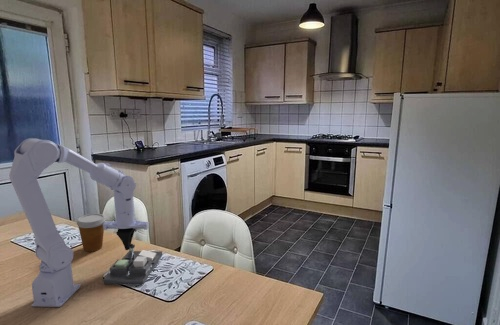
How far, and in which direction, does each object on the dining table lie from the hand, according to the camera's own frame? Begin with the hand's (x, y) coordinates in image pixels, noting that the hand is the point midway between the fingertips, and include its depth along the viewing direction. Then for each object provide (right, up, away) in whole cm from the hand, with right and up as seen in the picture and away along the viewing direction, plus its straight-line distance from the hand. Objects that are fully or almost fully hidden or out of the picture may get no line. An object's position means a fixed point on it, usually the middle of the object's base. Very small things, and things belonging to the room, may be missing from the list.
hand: (128, 248), depth 97 cm
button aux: (+6, -3, -6) cm, 9 cm away
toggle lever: (0, -3, 0) cm, 3 cm away
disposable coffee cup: (-18, -3, +12) cm, 22 cm away
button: (0, -4, -5) cm, 7 cm away
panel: (+3, -6, -2) cm, 7 cm away
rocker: (+6, -2, 0) cm, 7 cm away
